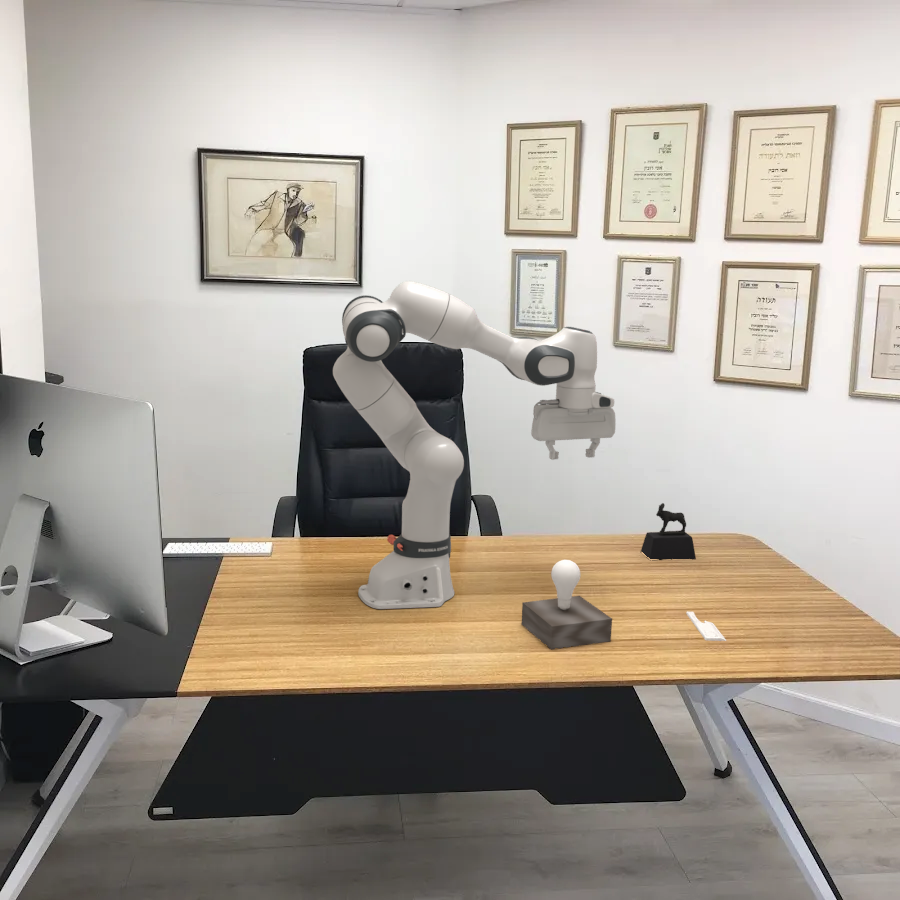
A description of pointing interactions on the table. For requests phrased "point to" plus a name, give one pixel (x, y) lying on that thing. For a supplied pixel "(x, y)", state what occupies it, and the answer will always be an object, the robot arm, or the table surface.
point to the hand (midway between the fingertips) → (572, 458)
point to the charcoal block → (566, 622)
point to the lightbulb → (565, 581)
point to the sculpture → (669, 539)
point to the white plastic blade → (706, 629)
